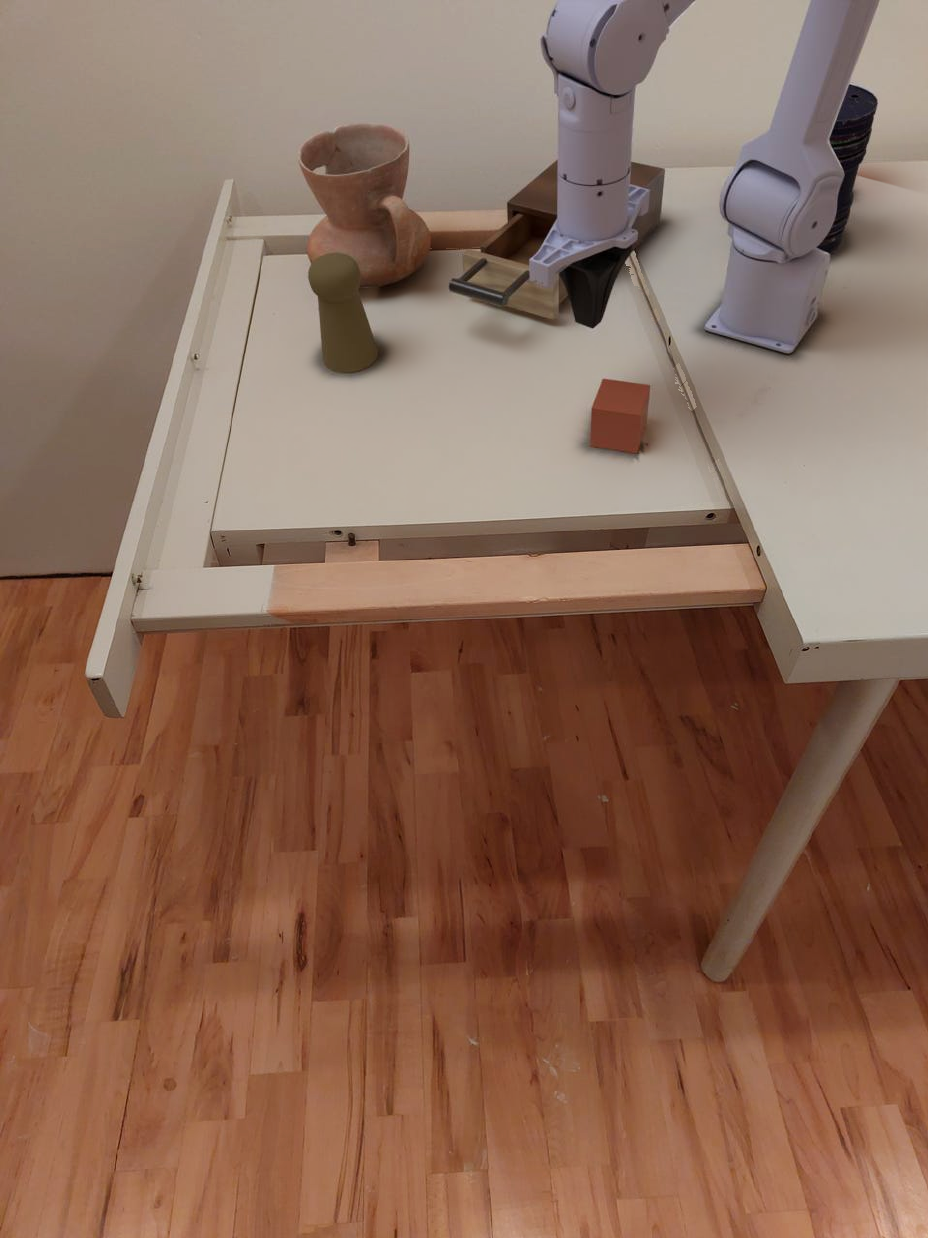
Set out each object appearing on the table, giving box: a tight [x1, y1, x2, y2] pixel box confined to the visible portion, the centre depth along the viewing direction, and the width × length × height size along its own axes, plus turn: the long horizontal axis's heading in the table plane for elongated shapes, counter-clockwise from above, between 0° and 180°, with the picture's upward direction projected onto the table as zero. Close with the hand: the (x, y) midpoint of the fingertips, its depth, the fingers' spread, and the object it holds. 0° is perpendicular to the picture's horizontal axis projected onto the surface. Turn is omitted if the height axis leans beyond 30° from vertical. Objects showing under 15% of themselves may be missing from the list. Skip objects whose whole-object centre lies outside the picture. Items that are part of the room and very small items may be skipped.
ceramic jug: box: [297, 122, 432, 289], centre depth 102 cm, size 18×14×14 cm
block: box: [589, 378, 652, 454], centre depth 84 cm, size 4×4×4 cm
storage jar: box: [816, 84, 879, 255], centre depth 99 cm, size 10×10×15 cm
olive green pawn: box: [307, 253, 379, 374], centre depth 92 cm, size 6×6×11 cm
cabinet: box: [506, 158, 666, 254], centre depth 105 cm, size 15×13×7 cm
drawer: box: [448, 212, 569, 320], centre depth 98 cm, size 20×11×5 cm, turn 146°
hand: (588, 321), depth 81 cm, fingers closed
